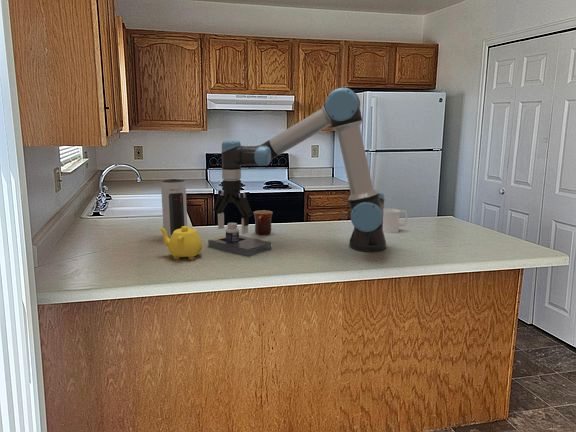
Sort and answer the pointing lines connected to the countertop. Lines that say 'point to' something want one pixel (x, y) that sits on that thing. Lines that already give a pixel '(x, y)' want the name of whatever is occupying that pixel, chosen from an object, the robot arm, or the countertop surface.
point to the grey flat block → (240, 245)
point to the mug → (263, 222)
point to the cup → (392, 220)
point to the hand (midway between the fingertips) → (232, 231)
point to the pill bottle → (232, 233)
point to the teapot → (183, 242)
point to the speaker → (173, 205)
